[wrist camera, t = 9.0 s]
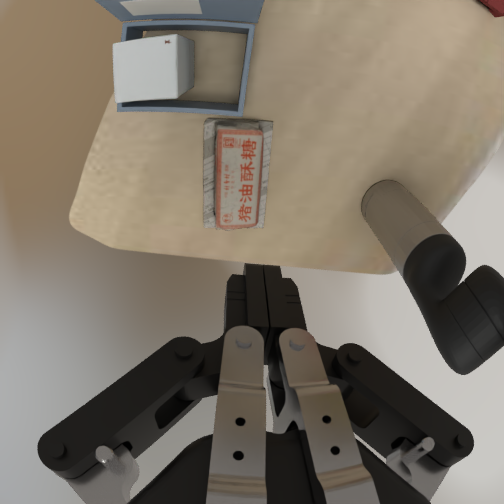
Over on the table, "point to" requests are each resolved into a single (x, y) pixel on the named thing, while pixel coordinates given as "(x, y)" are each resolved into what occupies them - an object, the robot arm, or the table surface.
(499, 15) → the red wedge
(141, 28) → the open blue-gray box
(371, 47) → the table surface
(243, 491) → the robot arm
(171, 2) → the lid
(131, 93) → the supplement box
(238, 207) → the packaged product
